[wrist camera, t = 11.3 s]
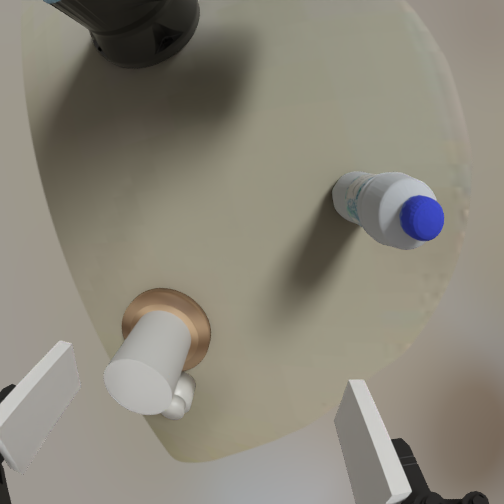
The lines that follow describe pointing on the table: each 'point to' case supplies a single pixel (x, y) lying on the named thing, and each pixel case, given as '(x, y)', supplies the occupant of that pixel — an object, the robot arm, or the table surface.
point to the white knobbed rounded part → (181, 397)
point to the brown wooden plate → (179, 307)
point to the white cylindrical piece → (149, 363)
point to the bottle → (389, 207)
